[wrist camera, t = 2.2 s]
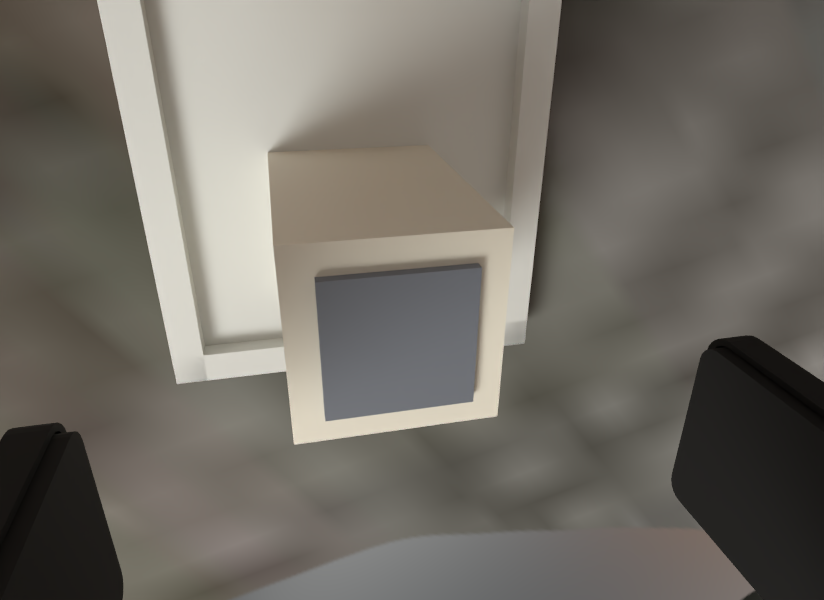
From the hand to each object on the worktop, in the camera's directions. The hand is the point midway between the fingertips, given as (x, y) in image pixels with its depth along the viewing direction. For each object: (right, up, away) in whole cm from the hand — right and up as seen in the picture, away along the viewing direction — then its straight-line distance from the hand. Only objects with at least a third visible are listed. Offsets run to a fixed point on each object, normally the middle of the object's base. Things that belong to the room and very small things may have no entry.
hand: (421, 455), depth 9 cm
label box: (-2, +4, +7) cm, 8 cm away
